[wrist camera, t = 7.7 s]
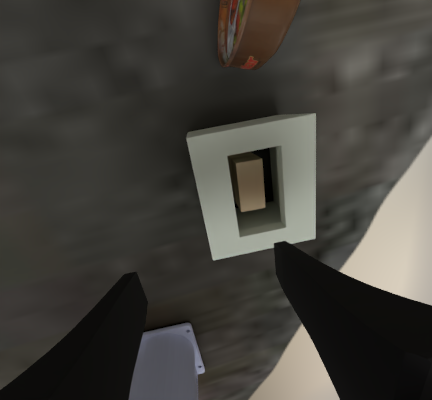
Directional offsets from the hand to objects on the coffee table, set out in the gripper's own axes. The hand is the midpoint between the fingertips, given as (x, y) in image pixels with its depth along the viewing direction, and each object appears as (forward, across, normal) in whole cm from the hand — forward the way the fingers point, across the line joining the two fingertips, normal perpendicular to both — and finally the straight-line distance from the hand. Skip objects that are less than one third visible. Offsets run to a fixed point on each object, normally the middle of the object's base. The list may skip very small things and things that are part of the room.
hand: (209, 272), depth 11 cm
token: (+10, -4, -2) cm, 11 cm away
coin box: (+10, -4, -2) cm, 11 cm away
